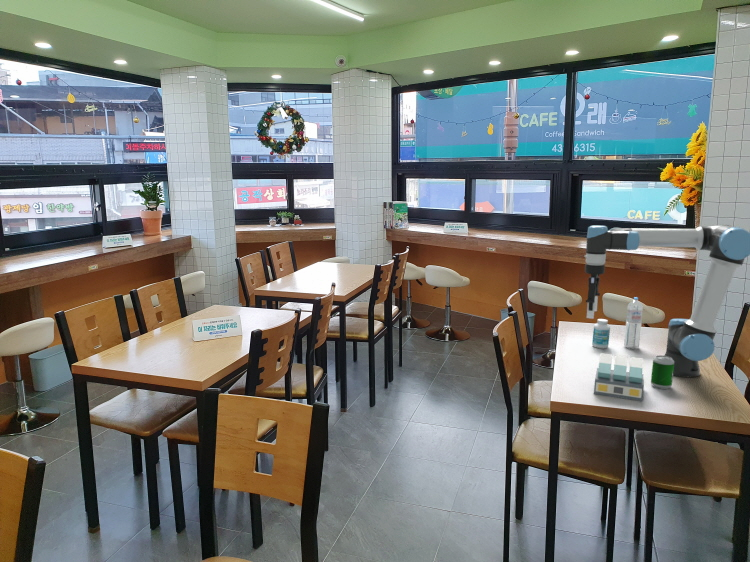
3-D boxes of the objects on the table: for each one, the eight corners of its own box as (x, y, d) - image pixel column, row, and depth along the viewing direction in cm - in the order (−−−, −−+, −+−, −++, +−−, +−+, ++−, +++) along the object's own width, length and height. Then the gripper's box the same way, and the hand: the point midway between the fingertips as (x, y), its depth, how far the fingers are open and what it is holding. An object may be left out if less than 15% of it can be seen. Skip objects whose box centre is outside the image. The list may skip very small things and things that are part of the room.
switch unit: (641, 388, 225) (643, 369, 224) (642, 401, 212) (644, 381, 211) (595, 382, 232) (597, 363, 231) (593, 394, 219) (595, 374, 218)
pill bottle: (591, 347, 278) (593, 320, 276) (592, 343, 285) (594, 317, 282) (608, 349, 275) (610, 322, 273) (608, 345, 282) (610, 319, 280)
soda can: (670, 391, 223) (673, 361, 221) (649, 387, 227) (652, 358, 224) (672, 385, 229) (675, 356, 227) (651, 381, 233) (654, 353, 231)
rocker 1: (611, 359, 227) (612, 354, 226) (609, 378, 218) (610, 373, 217) (600, 357, 229) (600, 353, 228) (597, 377, 220) (597, 372, 218)
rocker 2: (626, 361, 225) (627, 356, 224) (625, 380, 216) (626, 376, 214) (614, 359, 227) (615, 355, 226) (613, 379, 217) (613, 374, 216)
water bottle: (640, 346, 280) (644, 297, 275) (637, 350, 274) (642, 299, 270) (625, 344, 284) (629, 295, 279) (622, 348, 278) (627, 298, 273)
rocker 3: (642, 363, 223) (642, 358, 222) (641, 383, 213) (642, 378, 212) (629, 361, 225) (630, 356, 223) (628, 381, 215) (629, 376, 214)
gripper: (588, 259, 245) (585, 307, 249) (581, 267, 223) (578, 320, 227) (607, 260, 242) (604, 308, 246) (602, 268, 220) (598, 322, 224)
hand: (591, 314), depth 236 cm, fingers open, 13 cm apart
